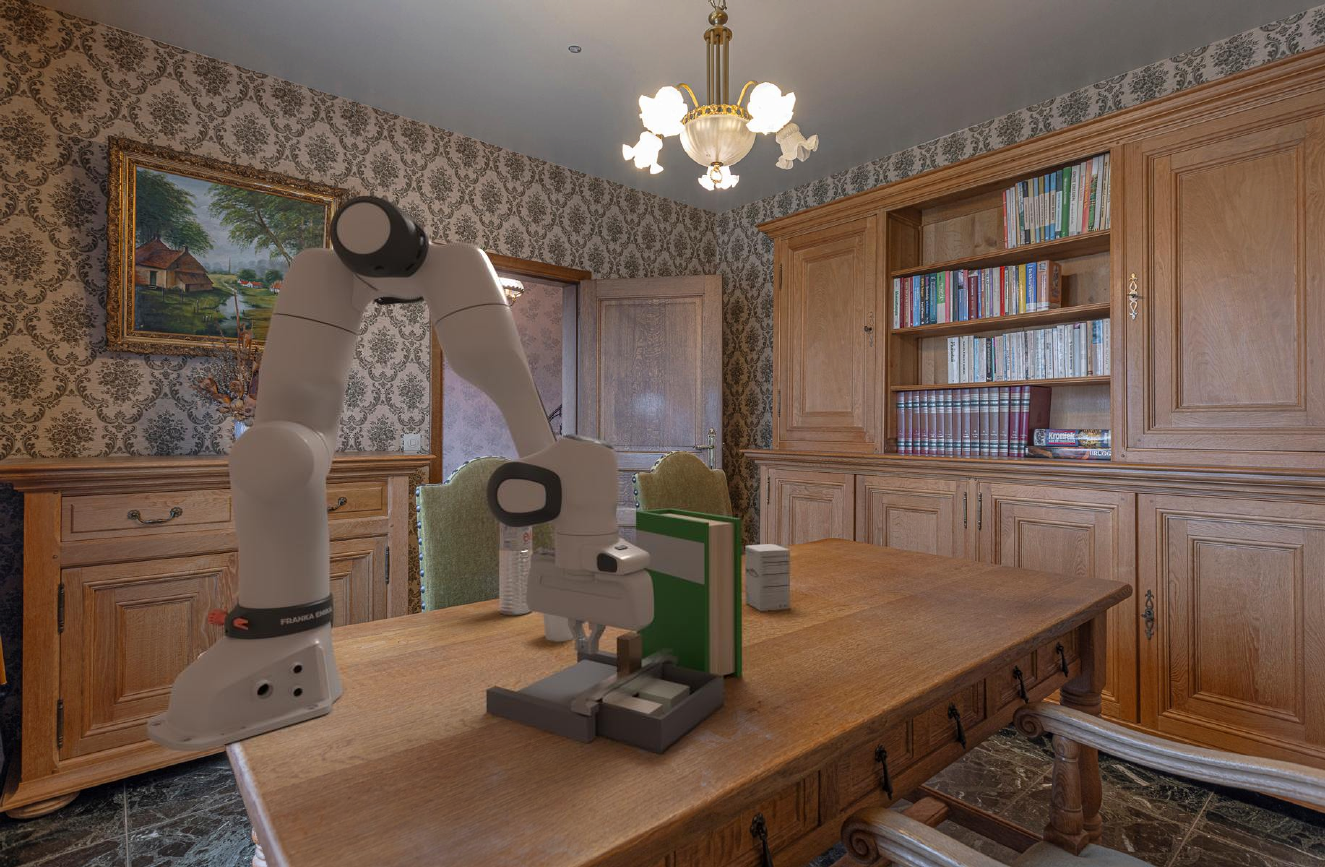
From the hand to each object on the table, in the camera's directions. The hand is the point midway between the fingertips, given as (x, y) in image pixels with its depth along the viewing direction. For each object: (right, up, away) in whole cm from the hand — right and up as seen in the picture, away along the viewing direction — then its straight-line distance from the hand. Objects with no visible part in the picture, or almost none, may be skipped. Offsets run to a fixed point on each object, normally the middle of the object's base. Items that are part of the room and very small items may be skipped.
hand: (586, 651), depth 91 cm
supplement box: (+33, -7, +50) cm, 60 cm away
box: (+10, -7, -5) cm, 13 cm away
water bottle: (-20, -7, +46) cm, 50 cm away
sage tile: (+11, -6, -2) cm, 13 cm away
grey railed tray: (-1, -7, +1) cm, 7 cm away
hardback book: (+14, -7, +14) cm, 21 cm away
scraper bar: (+6, -4, -3) cm, 8 cm away
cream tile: (+7, -6, -8) cm, 12 cm away
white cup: (-8, -7, +29) cm, 31 cm away
